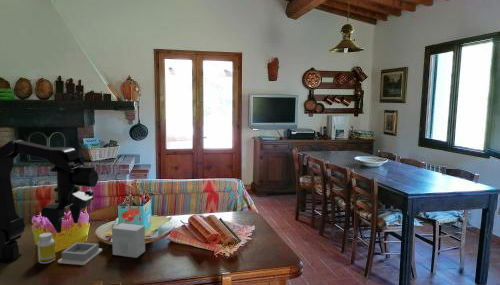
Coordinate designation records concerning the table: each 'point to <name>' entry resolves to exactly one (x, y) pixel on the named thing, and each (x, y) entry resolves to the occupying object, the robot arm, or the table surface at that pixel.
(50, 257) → the supplement bottle
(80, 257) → the collar plate
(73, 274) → the table surface
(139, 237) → the skincare box
